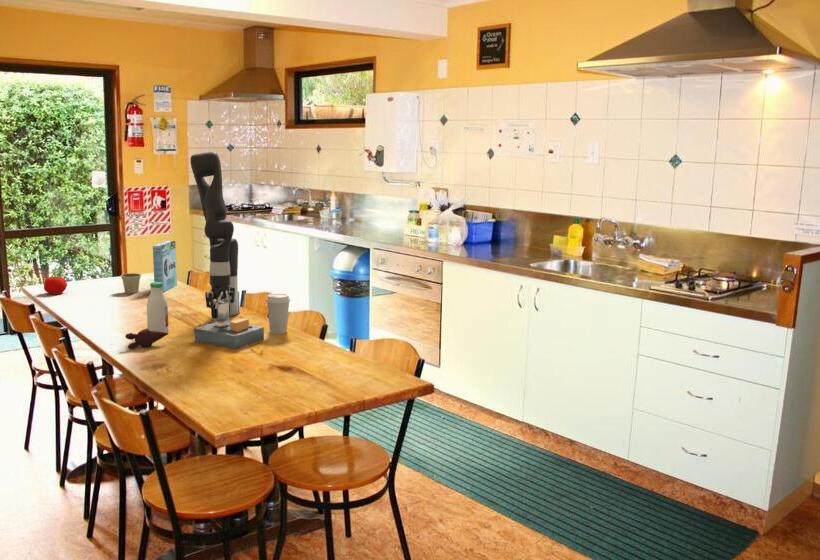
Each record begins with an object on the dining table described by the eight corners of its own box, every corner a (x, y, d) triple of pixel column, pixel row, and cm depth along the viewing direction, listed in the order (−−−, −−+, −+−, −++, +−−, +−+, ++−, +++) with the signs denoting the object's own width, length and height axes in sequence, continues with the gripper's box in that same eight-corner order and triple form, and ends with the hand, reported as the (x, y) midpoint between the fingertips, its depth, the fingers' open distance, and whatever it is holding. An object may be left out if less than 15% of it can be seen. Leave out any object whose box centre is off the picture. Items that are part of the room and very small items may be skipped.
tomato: (40, 293, 355) (39, 276, 354) (60, 290, 363) (59, 273, 362) (51, 296, 350) (49, 278, 348) (71, 293, 358) (70, 276, 357)
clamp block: (242, 326, 284) (242, 318, 283) (248, 328, 283) (248, 319, 282) (230, 330, 278) (229, 321, 277) (236, 331, 277) (236, 323, 276)
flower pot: (137, 294, 359) (137, 277, 358) (118, 294, 359) (117, 276, 358) (144, 290, 368) (144, 273, 367) (125, 290, 369) (125, 273, 367)
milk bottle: (162, 336, 287) (160, 285, 283) (143, 334, 289) (141, 283, 285) (172, 331, 295) (170, 281, 291) (154, 329, 296) (152, 280, 292)
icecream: (163, 324, 280) (122, 332, 271) (169, 323, 273) (127, 332, 265) (167, 342, 280) (126, 351, 272) (172, 342, 274) (130, 351, 265)
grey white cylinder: (220, 328, 289) (220, 300, 287) (232, 330, 286) (232, 302, 284) (209, 331, 284) (208, 303, 282) (221, 333, 281) (221, 305, 279)
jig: (224, 332, 295) (223, 318, 294) (263, 339, 286) (263, 325, 285) (194, 341, 281) (194, 326, 280) (235, 349, 272) (235, 334, 271)
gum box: (163, 292, 366) (162, 246, 362) (153, 292, 366) (151, 245, 362) (177, 285, 385) (176, 240, 381) (167, 284, 385) (166, 240, 381)
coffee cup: (261, 331, 297) (260, 295, 295) (280, 328, 304) (280, 291, 302) (275, 336, 291) (275, 299, 288) (295, 332, 298) (295, 295, 295)
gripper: (225, 269, 289) (226, 311, 292) (198, 274, 276) (199, 318, 279) (240, 271, 285) (241, 314, 288) (214, 276, 273) (214, 321, 276)
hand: (220, 316), depth 284 cm, fingers closed on grey white cylinder, 6 cm apart
